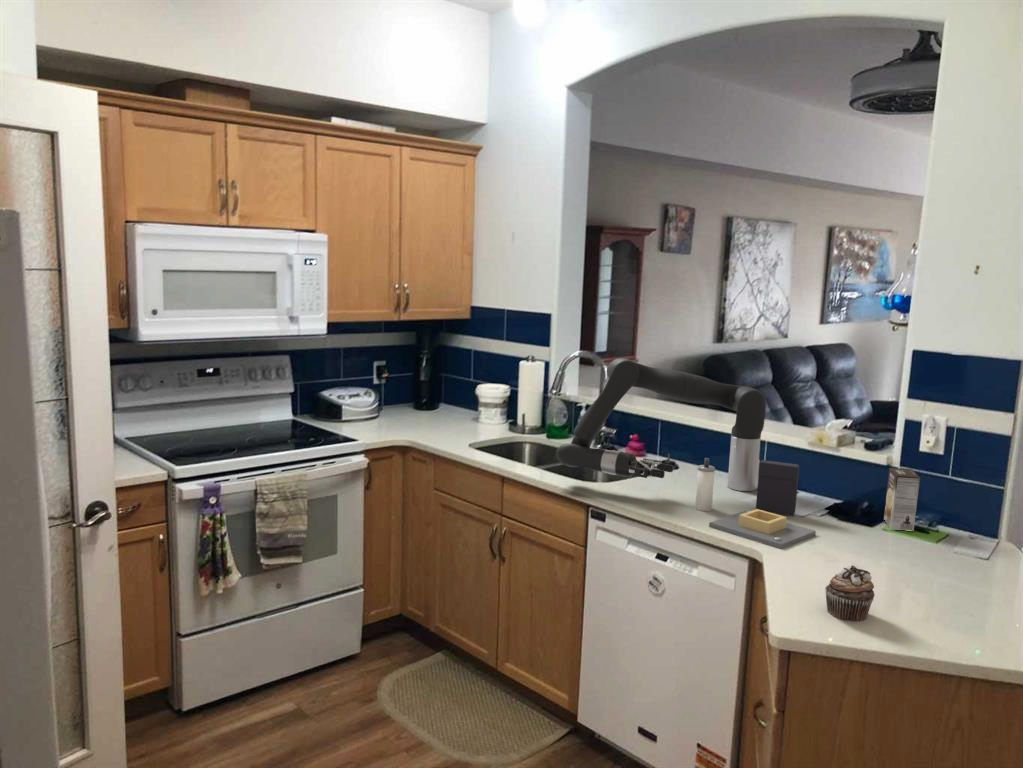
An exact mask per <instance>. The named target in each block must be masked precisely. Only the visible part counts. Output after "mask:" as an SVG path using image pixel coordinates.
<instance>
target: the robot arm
mask: <svg viewBox="0 0 1023 768" xmlns="http://www.w3.org/2000/svg"><path fill="white" fill-rule="evenodd" d="M606 373H607V378H608V380H607V382H606V384H605V386H604V388H603V390H602V391H601V393H600V394H599V395H598V396H597V398H595V400H594V401H593V403H591V405H590V406H589V407H588V408H587V410H586V411H585V412H584V413H583V414H582V416H581V418H580V420H579V421H578V423H577V424H576V426H575V427H574V429H573V435H574V436H573V437H572V438H573V439H572V441H571V442H570V443H568V442H567V443H563V444H561V445H560V446H559V447H557V449H556V453H555V454H556V455H555V456H556V459H557V461H558V462H559V463H560V464H561V465H564V466H568V467H570V468H577V467H578V468H585V469H588V470H591V471H594V472H600V473H605V474H609V475H613V476H618V477H624V478H632V476H634V477H639V478H645V479H648V478H653V477H654V478H660V479H664V478H665V472H666V473H673V471H674V465H673V464H669V463H663V462H662V460H657V459H651V458H650V459H649V458H642V459H640V460H637V457H636V455H635V454H634V453H633V452H632V453H631V452H626V451H621V450H620V451H619V450H615V449H613V450H612V449H611V450H608V449H601V448H595V447H594V448H593V447H591V446H592V442H593V441H594V439H595V438H596V437H597V435H598V433H599V431H600V430H601V429H602V428H603V425H604V424H605V423H606V421H607V419H608V418H609V416H610V415H611V413H612V412H613V410H615V407H616V406H617V405H618V403H619V402H620V401H621V400H622V398H624V396H625V395H626V394H627V393H628V391H630V390H631V389H632V388H639V389H645V390H648V391H651V392H653V393H655V394H656V393H657V394H658V395H660V396H663V397H666V398H669V399H673V400H675V401H681V402H686V403H690V404H691V403H692V404H697V405H698V404H700V405H701V404H702V405H703V404H704V405H716V406H720V407H723V408H727V409H730V410H732V411H735V412H736V415H735V416H736V417H735V423H734V425H733V426H732V428H731V433H730V434H731V435H730V450H729V459H728V461H729V463H728V474H727V475H728V476H727V487H728V488H729V489H730V490H735V491H739V492H740V491H741V492H753V491H757V488H758V472H759V463H760V461H761V460H760V450H761V439H762V438H761V437H762V432H763V430H764V427H765V419H766V410H767V401H766V397H765V395H764V394H763V393H762V392H761V391H759V390H758V389H755V388H753V387H750V386H745V385H737V384H736V385H735V384H729V383H722V382H719V381H715V380H712V379H710V378H708V377H705V376H700V375H699V374H698V375H697V374H693V373H690V372H684V371H682V370H681V371H679V370H673V369H669V368H659V367H652V366H648V365H645V364H643V363H639V362H636V361H632V360H631V359H628V358H625V357H621V358H620V357H619V358H616V359H614V360H612V361H611V362H610V363H609V364H608V366H607V369H606Z"/></svg>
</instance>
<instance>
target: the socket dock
mask: <svg viewBox="0 0 1023 768" xmlns="http://www.w3.org/2000/svg"><path fill="white" fill-rule="evenodd" d="M787 519H788V516H785V515H782V514H776V513H770V512H766V511H763V510H759V509H756V508H755V509H754V510H750V511H748V510H744V511H740V512H737V513H734V514H732V515H728V516H725V517H722V518H719V519H716V520H713V521H710V522H709V525H708V527H710V528H713V529H715V530H719V531H721V532H726V533H728V532H729V534H731V533H732V535H735V536H738V535H739V536H738V537H741V536H742V538H744V537H745V539H748V540H751V539H752V541H754V540H755V542H757V541H758V542H757V543H760V542H761V544H764V545H768V546H771V547H773V548H777V549H780V550H781V549H784V548H787V547H789V546H792V545H793V544H796V543H799V542H802V541H804V540H806V539H809V538H812V537H815V536H816V534H817V533H816V532H817V531H816V530H814V529H811V528H807V527H804V526H800V525H797V524H793V523H790V522H787V521H788V520H787Z"/></svg>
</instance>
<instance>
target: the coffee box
mask: <svg viewBox="0 0 1023 768" xmlns="http://www.w3.org/2000/svg"><path fill="white" fill-rule="evenodd" d="M888 469H889V470H888V478H887V486H886V497H885V505H884V506H885V508H884V515H883V521H884V520H885V521H884V522H886V523H887V524H886V523H885V524H886V525H887V526H889V527H888V528H889V530H890V531H895V530H912V531H915V521H916V513H917V508H918V507H917V505H918V498H919V489H920V480H921V477H920V476H919V475H918V474H917V473H916V472H915V470H914V469H911V468H900V467H898V468H895V467H889V468H888Z"/></svg>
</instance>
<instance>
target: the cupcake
mask: <svg viewBox="0 0 1023 768" xmlns="http://www.w3.org/2000/svg"><path fill="white" fill-rule="evenodd" d="M872 578H873V577H872V576H871V573H870V571H867V570H865V569H863V568H862V569H861V568H858V567H856V566H855V565H849V566H847V567H843V570H841V571H839V572H838V573H836V574H834V576H832V577H831V579H830V581H829V582H828V585H826V586H825V588H824V589H825V599H826V609H827V613H828V614H829V615H831V616H832V617H833V618H836V619H838V620H842V621H846V622H862V621H865V620H866V619H867V617H868V615H869V612H870V609H871V606H872V603H873V601H874V598H875V591H874V589H875V586H874V585H875V584H874V582H872Z"/></svg>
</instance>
